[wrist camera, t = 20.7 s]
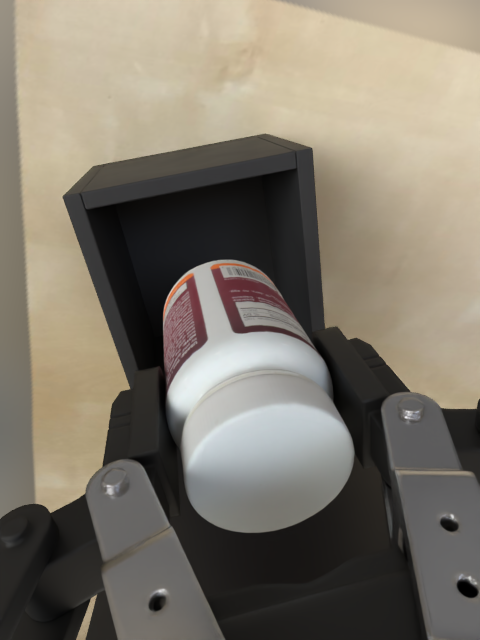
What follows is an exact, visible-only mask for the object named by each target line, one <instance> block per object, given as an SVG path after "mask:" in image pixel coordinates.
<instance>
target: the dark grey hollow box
mask: <svg viewBox="0 0 480 640" xmlns="http://www.w3.org/2000/svg"><path fill="white" fill-rule="evenodd" d="M63 199H64V202H65V205H66V208H67V211H68V213H69V216H70V219H71V222H72V225H73V228H74V230H75V233H76V236H77V239H78V242H79V245H80V247H81V250H82V253H83V256H84V259H85V261H86V264H87V267H88V270H89V273H90V276H91V278H92V281H93V284H94V287H95V290H96V293H97V295H98V298H99V301H100V304H101V307H102V309H103V312H104V315H105V318H106V321H107V324H108V326H109V329H110V332H111V335H112V338H113V341H114V343H115V346H116V349H117V352H118V355H119V357H120V360H121V363H122V366H123V369H124V372H125V374H126V377H127V380H128V383H129V386H130V389H133V386H134V375H135V371H139V370H143V369H148V368H152V367H157V366H160V368H161V370H162V373H163V377H164V380H165V370H164V366H165V365H164V335H163V312H164V306H165V303H166V300H167V297H168V295H169V293H170V291H171V289H172V288H173V286H174V285H175V284H176V282H177V281H178V280H179V279H180V278H181V277H182V276H183V275H184V274H186V273H187V272H188V271H189V270H191V269H193V268H195V267H197V266H199V265H202V264H205V263H208V262H212V261H217V260H237V261H241V262H245V263H247V264H250V265H252V266H254V267H256V268H257V269H259V270H260V271H262V272H263V273H264V274H265V275H267V276H268V277H269V279H270V280H271V281H272V282H273V284H274V285H275V287H276V288H277V290H278V291H279V292H280V294H281V295H282V297H283V299H284V301H285V302H286V303H287V305H288V307H289V308H290V310H291V311H292V313H293V314H294V316H295V318H296V319H297V321H298V322H299V324H300V325H301V327H302V328H303V330H304V331H305V333H306V335H307V336H308V338H309V339H310V341H311V342H312V344H313V341H312V333H313V331H318V330H322V329H325V323H324V308H323V294H322V280H321V265H320V251H319V237H318V223H317V208H316V194H315V180H314V166H313V151H312V148H310V147H307V146H304V145H300V144H297V143H294V142H291V141H288V140H284V139H281V138H278V137H275V136H272V135H268V134H261V135H256V136H251V137H246V138H240V139H235V140H230V141H224V142H219V143H214V144H209V145H203V146H198V147H193V148H187V149H182V150H177V151H172V152H166V153H161V154H156V155H150V156H145V157H140V158H135V159H129V160H124V161H119V162H113V163H108V164H103V165H98V166H93V167H92V168H91V169H90V170H89V171H88V172H87V173H86V174H85V175H84V176H83V177H82V178H81V179H80V180H79V181H78V182H77V183H76V184H75V185H74V186H73V187H72V188H71V189H70V190H69V191H68V192H67V193H66V194H65V195H64V196H63Z"/></svg>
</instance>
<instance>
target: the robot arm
mask: <svg viewBox="0 0 480 640" xmlns="http://www.w3.org/2000/svg"><path fill="white" fill-rule="evenodd" d="M312 341H313V345H314V347H315V348H316V350H317V351H318V353H319V354H320V355H321V356H322V358H323V359H324V361H325V363H326V365H327V367H328V369H329V372H330V375H331V378H332V384H333V393H334V398H333V403H334V405H335V407H336V409H337V411H338V412H339V414H340V416H341V418H342V419H343V421H344V423H345V425H346V426H347V428H348V430H349V432H350V434H351V437H352V440H353V445H354V451H355V455H356V456H357V458H358V460H359V462H360V464H361V465H362V467H363V469H367V468H371V467H375V466H376V467H377V468H378V470H379V472H380V473H381V490H382V497H383V504H384V511H385V518H386V525H387V532H388V539H389V546H390V548H387V549H383V550H379V551H376V552H372V553H368V554H365V555H361V556H357V557H353V558H352V559H350V560H348V561H347V562H345V563H343V564H342V565H340V566H338V567H337V568H335V569H333V570H332V571H330V572H328V573H327V574H325V575H323V576H322V577H320V578H318V579H317V580H315V581H313V582H311V583H308V584H253V585H249V586H245V587H242V588H238V589H234V590H230V591H227V592H223V593H219V594H216V595H212V596H208V602H207V600H206V598H205V595H204V593H203V591H202V589H201V587H200V585H199V582H198V580H197V578H196V576H195V574H194V572H193V570H192V567H191V565H190V563H189V561H188V559H187V557H186V554H185V552H184V550H183V548H182V546H181V544H180V542H179V539H178V537H177V535H176V533H175V531H174V529H173V527H172V526H170V518H171V517H175V516H179V515H180V497H179V478H178V458H177V445H176V443H175V442H174V440H173V438H172V436H171V433H170V430H169V427H168V423H167V419H166V411H165V380H164V377H163V373H162V370H161V368H160V366H157V367H152V368H148V369H143V370H139V371H135V375H134V386H133V389H129V390H125V391H121V392H120V393H119V395H118V396H117V398H116V399H115V401H114V402H113V404H112V408H111V415H110V418H111V419H110V421H109V430H108V434H107V441H106V447H105V454H104V460H103V467H102V468H101V469H99V470H98V471H97V472H96V473H95V474H94V475H93V476H92V478H91V479H90V480H89V482H88V484H87V487H86V493H85V494H84V495H83V496H81V497H80V498H79V499H77V500H75V501H73V502H71V503H70V504H68V505H66V506H64V507H62V508H60V509H58V510H56V511H54V512H52V513H50V512H49V511H48V509H47V508H46V507H44V506H43V505H39V504H29V505H24V506H21V507H19V508H16V509H15V510H12V511H11V512H9V513H8V514H6V515H5V516H3V517H2V518H1V519H0V640H76V638H77V635H78V632H79V630H80V627H81V624H82V622H83V619H84V616H85V613H86V611H87V608H88V605H89V602H90V599H91V598H92V597H93V596H95V595H97V594H98V593H100V592H102V591H103V590H105V591H106V595H107V599H108V603H109V607H110V610H111V614H112V618H113V622H114V626H115V630H116V634H117V638H118V640H480V399H479V401H478V405H477V409H444V408H440V406H439V405H438V404H437V403H436V402H435V401H434V400H433V399H431V398H429V397H427V396H425V395H422V394H419V393H414V392H410V390H409V389H408V388H407V387H406V386H405V385H404V383H403V382H402V381H401V380H400V379H399V378H398V376H397V375H396V374H395V373H394V372H393V371H392V370H391V368H390V367H389V366H388V365H386V363H385V361H384V360H383V359H382V358H381V357H379V354H378V353H377V352H376V351H375V350H374V349H373V347H372V346H371V345H370V344H368V343H366V342H364V341H362V340H360V339H358V338H354V339H350V340H347V338H346V337H345V336H344V335H343V333H342V332H341V331H340V329H339V328H338V327H336V326H335V327H331V328H326V329H322V330H318V331H313V333H312Z"/></svg>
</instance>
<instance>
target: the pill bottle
mask: <svg viewBox="0 0 480 640" xmlns="http://www.w3.org/2000/svg"><path fill="white" fill-rule="evenodd" d="M163 335H164V365H165V366H164V370H165V411H166V419H167V423H168V427H169V430H170V433H171V436H172V438H173V440H174V442H175V443H176V445H177V446H178V448H179V449H180V453H181V459H182V466H183V476H184V484H185V490H186V494H187V496H188V499H189V501H190V503H191V505H192V506H193V508H194V509H195V510H196V512H197V513H198V514H199V515H200V516H202V517H203V518H204V519H206V520H207V521H208V522H210V523H212V524H214V525H215V526H218V527H220V528H223V529H227V530H231V531H236V532H243V533H260V532H268V531H275V530H279V529H283V528H286V527H289V526H292V525H295V524H297V523H299V522H301V521H303V520H305V519H307V518H309V517H311V516H313V515H314V514H316V513H317V512H319V511H320V510H322V509H323V508H324V507H325V506H327V505H328V504H329V503H330V502H331V501H332V500H333V499H334V498H335V497H336V496H337V495H338V494H339V493H340V491H341V490H342V488H343V487H344V485H345V484H346V482H347V480H348V478H349V476H350V474H351V470H352V468H353V464H354V455H355V451H354V445H353V440H352V437H351V434H350V432H349V430H348V428H347V426H346V425H345V423H344V421H343V419H342V418H341V416H340V414H339V412H338V411H337V409H336V407H335V405H334V403H333V398H334V393H333V384H332V378H331V375H330V372H329V369H328V367H327V365H326V363H325V361H324V359H323V358H322V356H321V355H320V354H319V353H318V351H317V350H316V348H315V347H314V345H313V344H312V342H311V341H310V339H309V338H308V336H307V335H306V333H305V331H304V330H303V328H302V327H301V325H300V324H299V322H298V321H297V319H296V318H295V316H294V314H293V313H292V311H291V310H290V308H289V307H288V305H287V303H286V302H285V301H284V299H283V297H282V295H281V294H280V292H279V291H278V290H277V288H276V287H275V285H274V284H273V282H272V281H271V280H270V279H269V277H268V276H267V275H265V274H264V273H263V272H262V271H260V270H259V269H257V268H256V267H254V266H252V265H250V264H247V263H245V262H241V261H237V260H217V261H212V262H208V263H205V264H202V265H199V266H197V267H195V268H193V269H191V270H189V271H188V272H187V273H186V274H184V275H183V276H182V277H181V278H180V279H179V280H178V281H177V282H176V284H175V285H174V286H173V288H172V289H171V291H170V293H169V295H168V297H167V300H166V303H165V306H164V312H163Z"/></svg>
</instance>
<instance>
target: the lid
mask: <svg viewBox="0 0 480 640" xmlns="http://www.w3.org/2000/svg"><path fill="white" fill-rule="evenodd" d="M177 458H178V478H179V497H180V515H179V516H175V517H171V518H170V526H172V527H173V529H174V531H175V533H176V535H177V537H178V539H179V542H180V544H181V546H182V548H183V550H184V552H185V554H186V557H187V559H188V561H189V563H190V565H191V567H192V570H193V572H194V574H195V576H196V578H197V580H198V582H199V585H200V587H201V589H202V591H203V593H204V595H205V598H206V600H207V602H208V596H212V595H216V594H219V593H223V592H227V591H230V590H234V589H238V588H242V587H245V586H249V585H253V584H308V583H311V582H313V581H315V580H317V579H318V578H320V577H322V576H323V575H325V574H327V573H328V572H330V571H332V570H333V569H335V568H337V567H338V566H340V565H342V564H343V563H345V562H347V561H348V560H350V559H352V558H353V557H357V556H361V555H365V554H368V553H372V552H376V551H379V550H383V549H387V548H390V546H389V539H388V532H387V525H386V518H385V511H384V504H383V497H382V490H381V473H380V472H379V470H378V468H377V467H376V466H375V467H371V468H367V469H363V467H362V465H361V464H360V462H359V460H358V458H357V456H356V455H354V464H353V468H352V470H351V474H350V476H349V478H348V480H347V482H346V484H345V485H344V487H343V488H342V490H341V491H340V493H339V494H338V495H337V496H336V497H335V498H334V499H333V500H332V501H331V502H330V503H329V504H328V505H327V506H325V507H324V508H323V509H322V510H320V511H319V512H317V513H316V514H314V515H313V516H311V517H309V518H307V519H305V520H303V521H301V522H299V523H297V524H295V525H292V526H289V527H286V528H283V529H279V530H275V531H268V532H260V533H243V532H236V531H231V530H227V529H223V528H220V527H218V526H215V525H214V524H212V523H210V522H208V521H207V520H206V519H204V518H203V517H202V516H200V515H199V514H198V513H197V512H196V510H195V509H194V508H193V506H192V505H191V503H190V501H189V499H188V496H187V494H186V490H185V484H184V476H183V466H182V459H181V453H180V449H179V448H178V446H177ZM86 640H118V638H117V634H116V630H115V626H114V622H113V618H112V614H111V610H110V607H109V603H108V599H107V595H106V591H105V590H103V591H102V592H100V593H98V594H97V597H96V601H95V605H94V609H93V613H92V617H91V621H90V625H89V629H88V632H87V636H86Z"/></svg>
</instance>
